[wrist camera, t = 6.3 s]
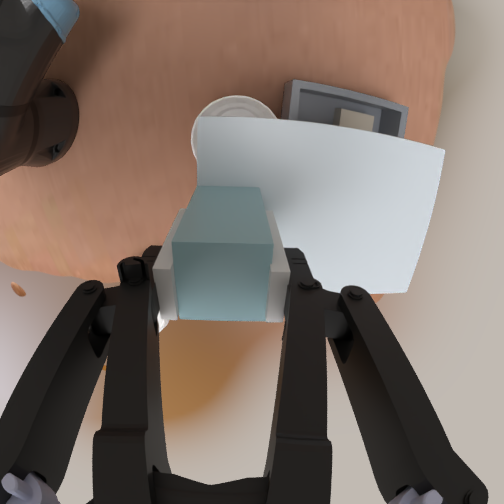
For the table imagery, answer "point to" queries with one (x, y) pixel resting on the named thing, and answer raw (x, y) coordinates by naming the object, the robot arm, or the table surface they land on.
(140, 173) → the table surface
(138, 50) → the table surface
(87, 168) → the table surface
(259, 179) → the pale blue stand
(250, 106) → the cup
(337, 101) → the tub
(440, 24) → the table surface
